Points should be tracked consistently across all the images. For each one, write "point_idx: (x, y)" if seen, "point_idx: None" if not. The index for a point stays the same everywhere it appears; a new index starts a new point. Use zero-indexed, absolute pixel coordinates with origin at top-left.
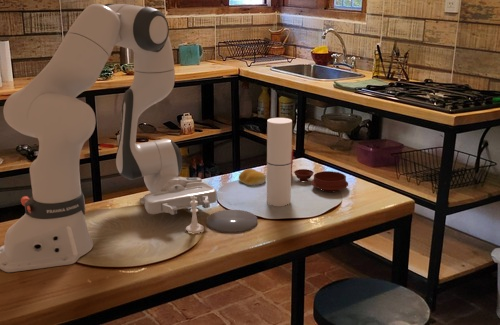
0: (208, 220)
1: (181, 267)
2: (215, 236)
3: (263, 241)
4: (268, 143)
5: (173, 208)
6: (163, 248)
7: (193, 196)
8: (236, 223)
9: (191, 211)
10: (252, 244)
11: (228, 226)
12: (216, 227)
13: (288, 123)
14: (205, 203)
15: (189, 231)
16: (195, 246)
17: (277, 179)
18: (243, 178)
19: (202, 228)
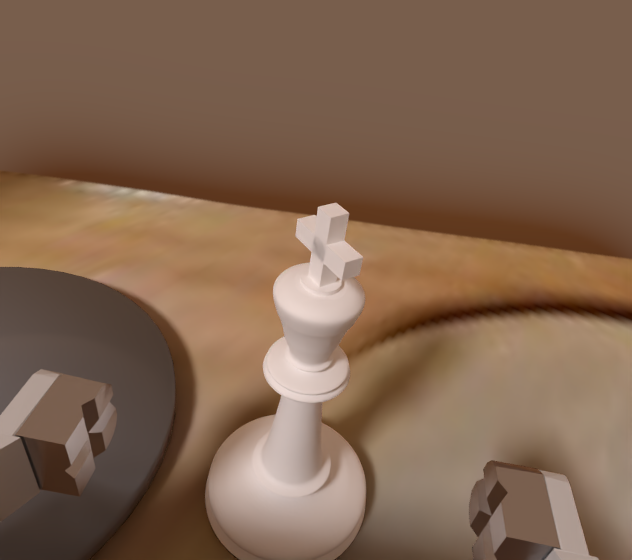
0: (88, 515)
1: (529, 247)
2: (238, 336)
3: (110, 197)
4: None
5: (537, 470)
6: (588, 401)
7: (338, 221)
8: (6, 336)
9: (345, 361)
10: (169, 207)
11: (90, 338)
12: (163, 373)
13: None
14: (99, 383)
15: (357, 458)
16: (405, 321)
17: None
18: None
19: (252, 422)
